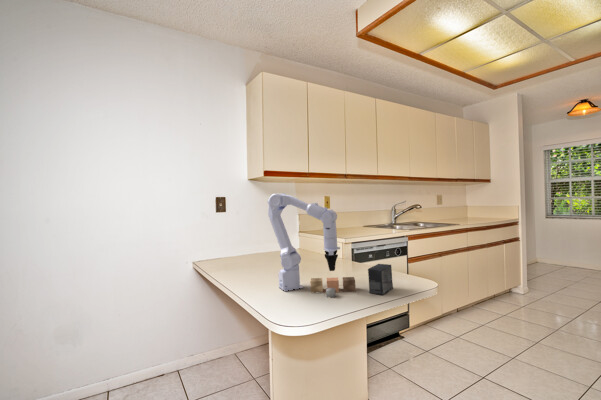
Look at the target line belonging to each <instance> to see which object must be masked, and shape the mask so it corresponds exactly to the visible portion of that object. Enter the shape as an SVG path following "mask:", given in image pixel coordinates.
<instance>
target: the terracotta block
mask: <svg viewBox="0 0 601 400" xmlns="http://www.w3.org/2000/svg"><path fill="white" fill-rule="evenodd" d="M326 288H335V290H336V293H340V285H339V277H326Z"/></svg>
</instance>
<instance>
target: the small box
mask: <svg viewBox="0 0 601 400" xmlns="http://www.w3.org/2000/svg"><path fill="white" fill-rule="evenodd" d="M367 273H368V288H369V294H370V295H371V294H372V295H379V296H384V295H386V294H388V293H389V292H391V291H392V290H393V289H394V285H393V283H394V282H393V272H392V264H385V263H377V264H375V265H373V266H371V267H370V268H368V269H367Z"/></svg>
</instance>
